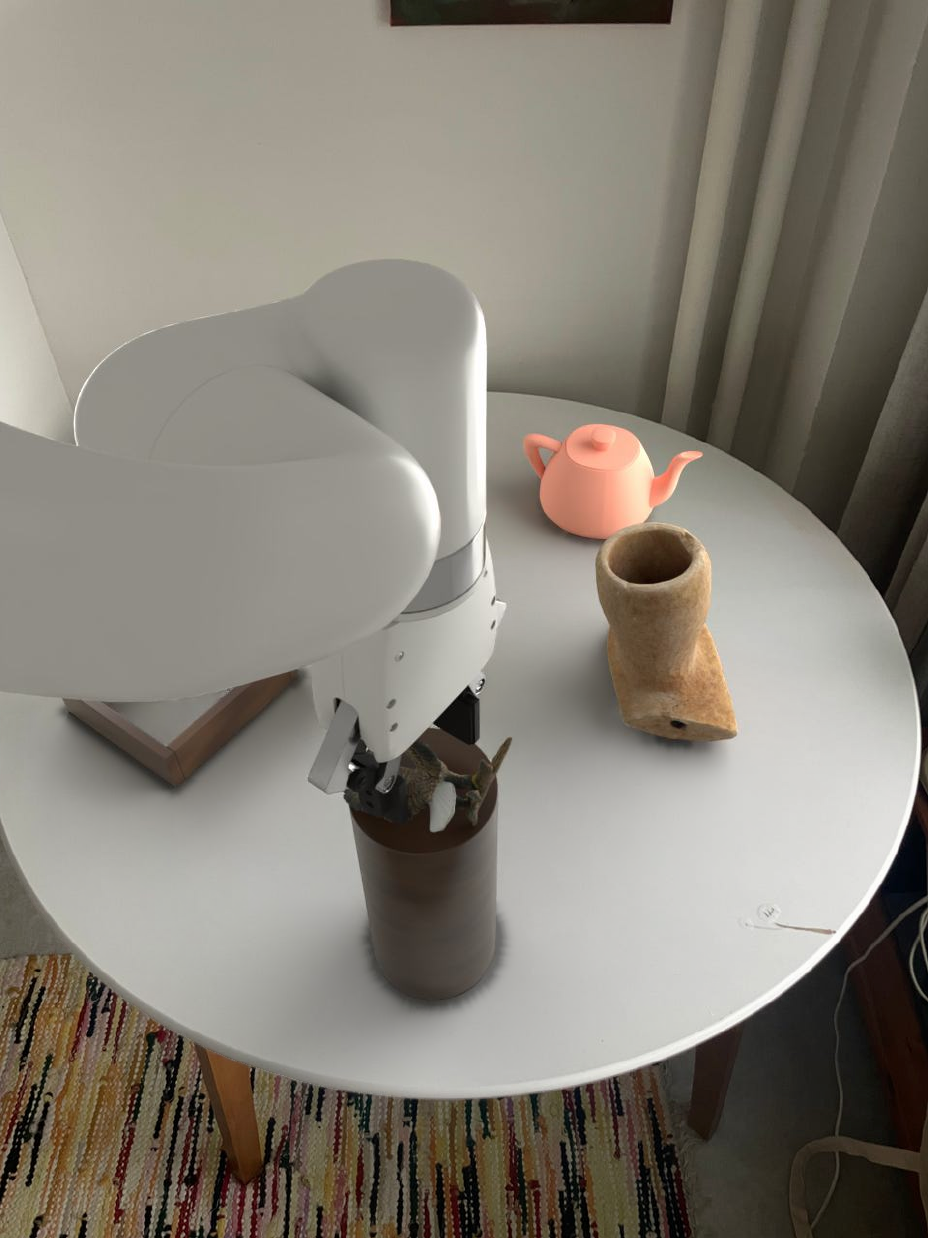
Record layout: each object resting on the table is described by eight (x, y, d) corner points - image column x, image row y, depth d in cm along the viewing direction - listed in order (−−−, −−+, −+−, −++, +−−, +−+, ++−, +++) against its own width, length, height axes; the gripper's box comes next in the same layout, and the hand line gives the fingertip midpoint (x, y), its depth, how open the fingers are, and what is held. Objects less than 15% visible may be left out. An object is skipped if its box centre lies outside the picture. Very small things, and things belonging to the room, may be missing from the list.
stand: (446, 1025, 71) (437, 883, 57) (348, 953, 75) (315, 802, 61) (519, 927, 76) (527, 773, 62) (424, 864, 80) (410, 704, 65)
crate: (176, 788, 85) (165, 760, 82) (67, 710, 91) (53, 681, 88) (299, 675, 93) (293, 646, 90) (192, 610, 99) (183, 581, 96)
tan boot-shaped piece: (579, 622, 97) (591, 501, 86) (704, 619, 97) (732, 498, 86) (595, 753, 87) (611, 634, 76) (736, 750, 87) (772, 631, 76)
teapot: (535, 458, 114) (539, 386, 108) (697, 487, 111) (711, 414, 104) (506, 528, 107) (508, 455, 100) (679, 562, 103) (694, 489, 96)
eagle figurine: (517, 741, 62) (385, 678, 63) (511, 736, 55) (363, 665, 56) (463, 857, 61) (330, 791, 63) (450, 868, 54) (301, 793, 56)
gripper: (451, 419, 53) (457, 651, 66) (206, 618, 43) (270, 842, 57) (575, 472, 50) (555, 704, 63) (340, 699, 40) (375, 916, 53)
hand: (420, 767), depth 60 cm, fingers closed on eagle figurine, 6 cm apart
